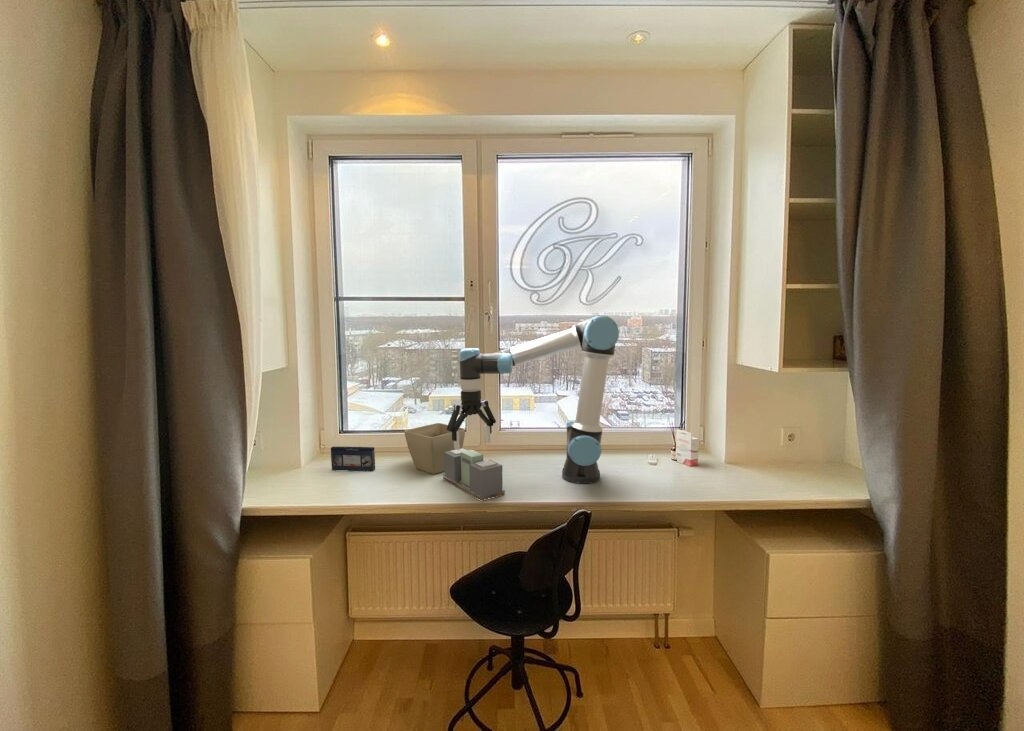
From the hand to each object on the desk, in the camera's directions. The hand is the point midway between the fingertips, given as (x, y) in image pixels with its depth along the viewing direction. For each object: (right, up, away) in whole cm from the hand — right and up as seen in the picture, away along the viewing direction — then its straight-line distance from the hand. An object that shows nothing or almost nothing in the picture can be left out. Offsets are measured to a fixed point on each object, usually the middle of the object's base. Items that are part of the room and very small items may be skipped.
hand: (472, 445), depth 170 cm
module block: (0, -15, +2) cm, 15 cm away
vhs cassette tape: (-52, -14, +21) cm, 58 cm away
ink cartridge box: (+91, -13, +28) cm, 96 cm away
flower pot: (-18, -14, +23) cm, 33 cm away
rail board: (0, -16, +2) cm, 16 cm away
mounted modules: (0, -15, +2) cm, 15 cm away
